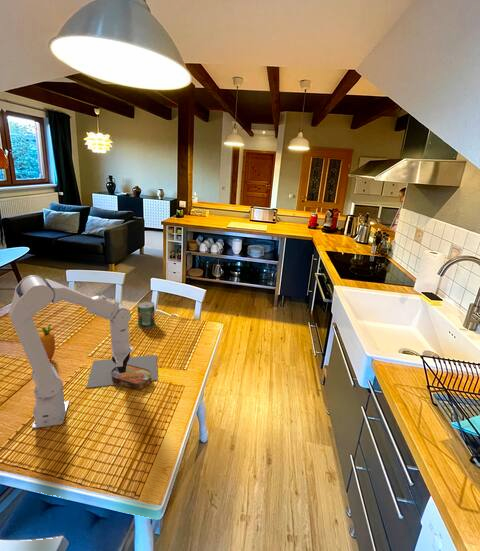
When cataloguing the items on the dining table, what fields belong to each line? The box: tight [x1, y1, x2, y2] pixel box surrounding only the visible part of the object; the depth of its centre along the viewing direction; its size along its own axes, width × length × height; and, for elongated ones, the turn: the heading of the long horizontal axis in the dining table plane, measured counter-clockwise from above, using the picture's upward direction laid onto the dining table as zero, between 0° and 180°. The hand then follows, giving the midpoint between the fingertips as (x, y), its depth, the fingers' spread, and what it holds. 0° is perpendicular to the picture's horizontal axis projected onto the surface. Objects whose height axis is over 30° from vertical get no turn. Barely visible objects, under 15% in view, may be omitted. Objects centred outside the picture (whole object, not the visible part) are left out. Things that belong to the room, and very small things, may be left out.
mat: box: [86, 354, 159, 389], centre depth 118 cm, size 16×24×1 cm, turn 106°
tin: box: [111, 364, 152, 390], centre depth 113 cm, size 15×3×8 cm
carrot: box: [39, 324, 56, 361], centre depth 119 cm, size 5×5×15 cm
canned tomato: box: [136, 300, 156, 330], centre depth 150 cm, size 8×8×11 cm
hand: (122, 371), depth 109 cm, fingers closed
